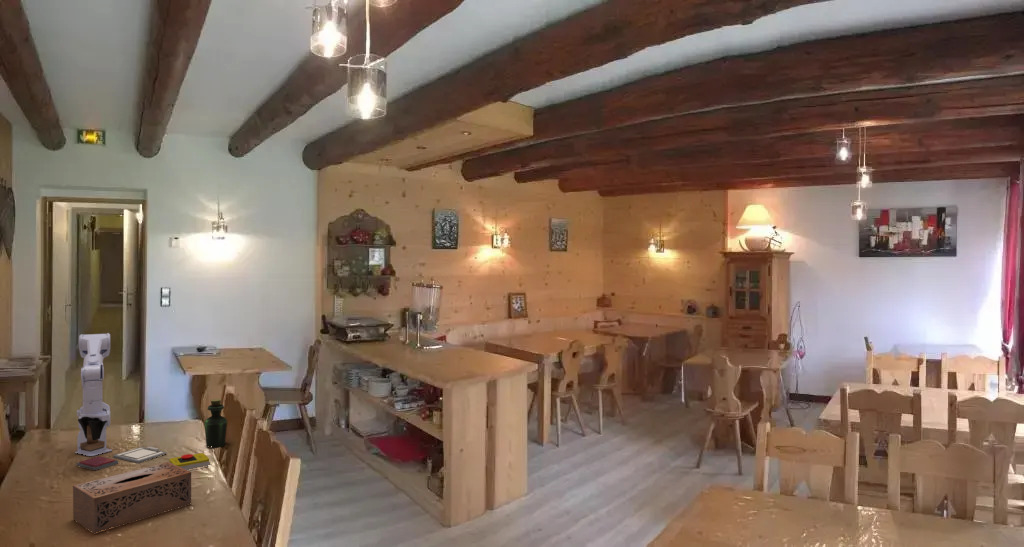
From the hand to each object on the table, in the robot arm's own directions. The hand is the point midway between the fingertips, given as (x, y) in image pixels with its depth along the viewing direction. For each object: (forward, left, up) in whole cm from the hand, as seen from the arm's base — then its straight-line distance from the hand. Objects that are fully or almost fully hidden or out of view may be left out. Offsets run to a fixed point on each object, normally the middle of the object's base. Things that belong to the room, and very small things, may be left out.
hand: (92, 438), depth 217 cm
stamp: (0, 0, -4) cm, 4 cm away
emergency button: (+28, +16, -11) cm, 34 cm away
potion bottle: (+16, +37, -11) cm, 41 cm away
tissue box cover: (+46, -17, -11) cm, 51 cm away
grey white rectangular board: (+2, +16, -10) cm, 19 cm away
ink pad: (-2, +3, -10) cm, 11 cm away
